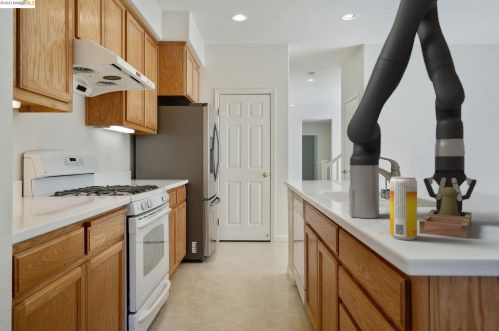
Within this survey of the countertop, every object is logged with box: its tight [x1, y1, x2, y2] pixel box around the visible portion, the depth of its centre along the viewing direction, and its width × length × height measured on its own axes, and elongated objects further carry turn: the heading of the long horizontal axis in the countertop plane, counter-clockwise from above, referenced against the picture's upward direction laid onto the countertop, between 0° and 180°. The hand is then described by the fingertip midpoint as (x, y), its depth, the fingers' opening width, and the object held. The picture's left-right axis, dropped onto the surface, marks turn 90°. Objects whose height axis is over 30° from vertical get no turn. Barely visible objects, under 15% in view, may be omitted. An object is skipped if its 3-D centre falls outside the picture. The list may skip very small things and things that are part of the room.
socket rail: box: [418, 209, 472, 239], centre depth 91 cm, size 23×10×3 cm, turn 144°
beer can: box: [389, 175, 418, 241], centre depth 80 cm, size 6×6×15 cm
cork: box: [439, 187, 460, 216], centre depth 97 cm, size 6×6×11 cm
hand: (449, 212), depth 97 cm, fingers closed on cork, 4 cm apart
